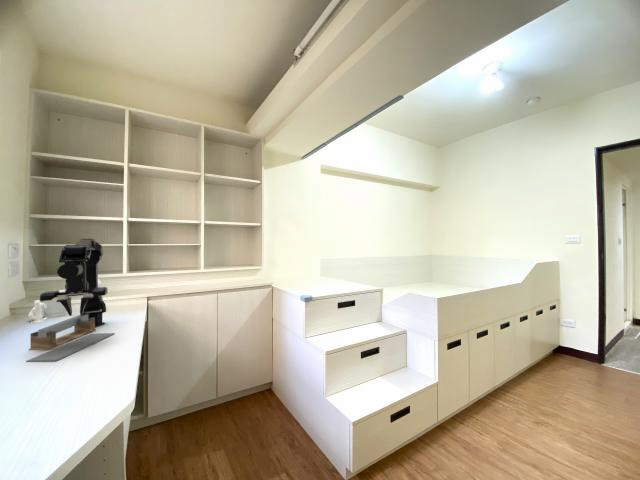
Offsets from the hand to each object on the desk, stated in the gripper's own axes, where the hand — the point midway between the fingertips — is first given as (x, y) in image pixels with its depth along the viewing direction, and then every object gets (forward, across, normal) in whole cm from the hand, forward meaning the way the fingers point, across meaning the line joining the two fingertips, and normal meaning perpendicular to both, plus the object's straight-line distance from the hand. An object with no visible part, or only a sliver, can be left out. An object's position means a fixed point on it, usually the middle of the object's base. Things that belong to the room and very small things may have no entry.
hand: (76, 315), depth 100 cm
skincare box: (+13, +21, -61) cm, 66 cm away
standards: (+13, +6, -12) cm, 18 cm away
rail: (+8, +6, -12) cm, 15 cm away
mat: (+13, 0, 0) cm, 13 cm away
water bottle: (+13, +5, -61) cm, 62 cm away
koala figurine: (+13, +26, -53) cm, 60 cm away
